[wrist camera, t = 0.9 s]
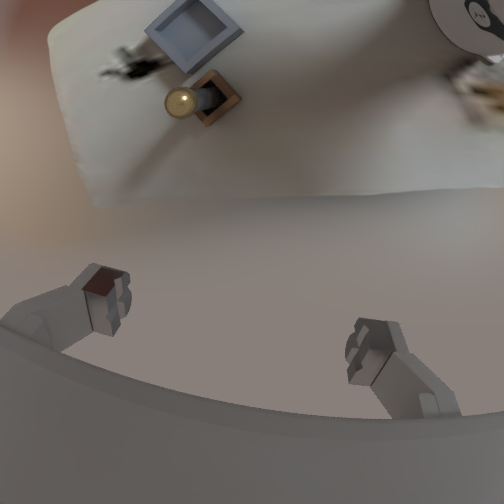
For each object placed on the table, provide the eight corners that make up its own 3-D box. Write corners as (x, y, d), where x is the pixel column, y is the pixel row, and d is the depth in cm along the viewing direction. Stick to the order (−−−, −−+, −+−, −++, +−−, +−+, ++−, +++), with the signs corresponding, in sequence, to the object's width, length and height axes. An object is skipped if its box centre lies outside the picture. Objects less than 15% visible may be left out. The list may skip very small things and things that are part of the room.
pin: (215, 81, 41) (176, 79, 27) (230, 98, 42) (199, 104, 28) (197, 96, 42) (152, 103, 28) (212, 113, 43) (174, 127, 30)
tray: (201, -9, 33) (194, -15, 30) (244, 31, 37) (240, 27, 34) (153, 33, 37) (143, 30, 34) (192, 74, 41) (185, 73, 38)
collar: (216, 70, 40) (211, 69, 37) (242, 99, 42) (238, 100, 39) (186, 96, 42) (180, 97, 40) (211, 124, 44) (206, 126, 42)
